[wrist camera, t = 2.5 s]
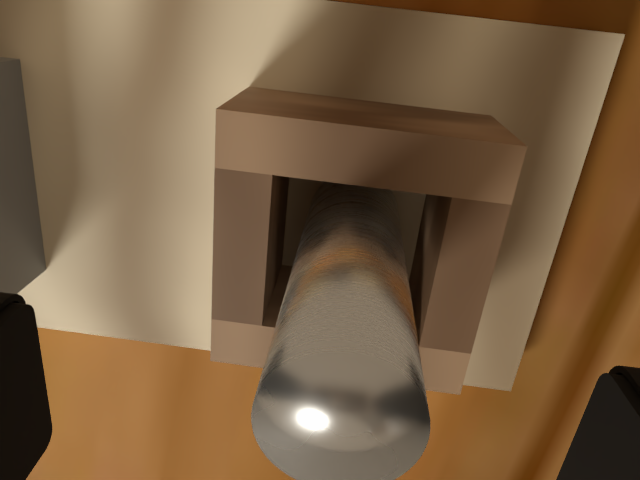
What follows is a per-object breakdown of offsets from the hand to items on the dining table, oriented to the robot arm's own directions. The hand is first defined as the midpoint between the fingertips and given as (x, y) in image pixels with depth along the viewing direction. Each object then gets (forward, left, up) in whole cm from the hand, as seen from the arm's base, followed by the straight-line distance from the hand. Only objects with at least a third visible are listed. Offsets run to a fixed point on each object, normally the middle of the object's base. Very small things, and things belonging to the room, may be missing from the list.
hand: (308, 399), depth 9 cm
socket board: (+6, 0, -11) cm, 13 cm away
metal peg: (-1, 0, -10) cm, 10 cm away
